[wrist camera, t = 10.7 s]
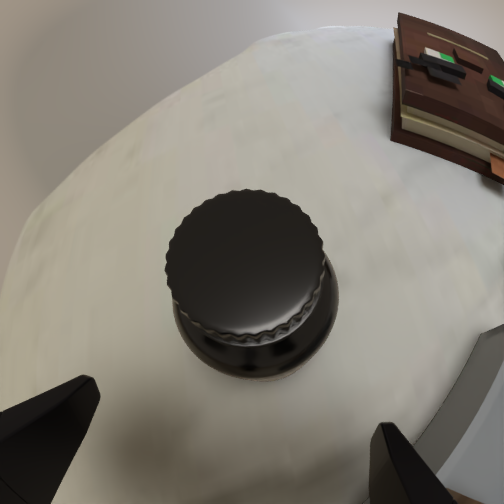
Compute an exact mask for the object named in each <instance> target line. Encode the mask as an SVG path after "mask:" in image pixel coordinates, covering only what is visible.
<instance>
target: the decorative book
mask: <svg viewBox="0 0 504 504" xmlns="http://www.w3.org/2000/svg"><path fill="white" fill-rule="evenodd" d="M397 24H398V29H397V28H394V36H395V39H394V43H393V108H392V126H391V140H390V141H394V142H397V143H400V144H403V145H406V146H409V147H412V148H415V149H418V150H421V151H424V152H427V153H429V154H432V155H435V156H438V157H440V158H443V159H445V160H448V161H451V162H453V163H456V164H458V165H461V166H463V167H465V168H468V169H470V170H473V171H475V172H477V173H479V174H482V175H484V176H486V177H488V178H491V179H493V180H495V181H497V182H499V183H501V184H503V185H504V61H503V60H502V58H501V57H500V55H499V54H498V52H497V51H496V50H494V49H492V48H490V47H488V46H486V45H483V44H482V43H479V42H477V41H475V40H473V39H471V38H469V37H466V36H464V35H461V34H459V33H457V32H455V31H452V30H450V29H447V28H444V27H442V26H439V25H436V24H434V23H431V22H428V21H425V20H422V19H419V18H416V17H413V16H409V15H406V14H403V13H398V20H397Z"/></svg>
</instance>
